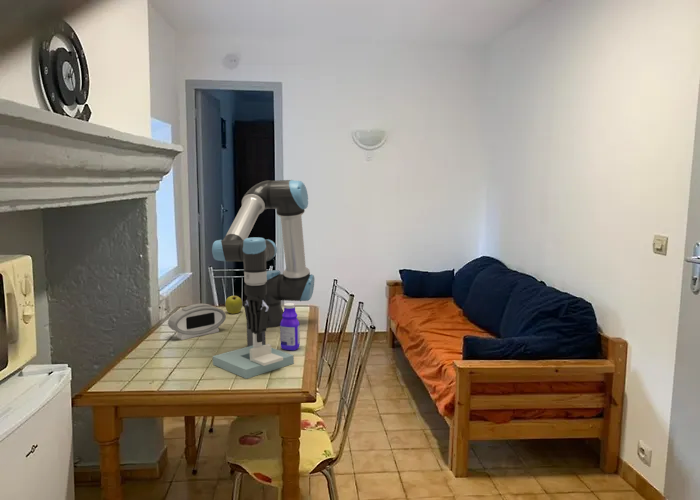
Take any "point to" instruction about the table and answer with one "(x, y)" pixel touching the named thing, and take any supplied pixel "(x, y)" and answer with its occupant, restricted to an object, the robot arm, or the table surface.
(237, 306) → the apple
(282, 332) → the bottle
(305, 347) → the table surface
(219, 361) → the socket plate
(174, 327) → the alarm clock
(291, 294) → the robot arm
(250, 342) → the plug
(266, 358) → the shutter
